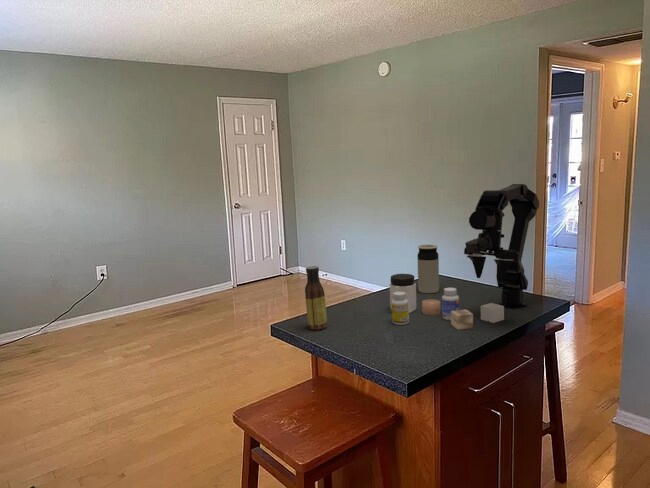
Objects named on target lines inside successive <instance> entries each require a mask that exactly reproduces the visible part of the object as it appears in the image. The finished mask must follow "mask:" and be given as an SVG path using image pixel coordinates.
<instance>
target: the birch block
mask: <svg viewBox="0 0 650 488" xmlns="http://www.w3.org/2000/svg"><path fill="white" fill-rule="evenodd" d="M450 325H451V326H452V327H454V328H455V329H456V330H466V329H473V328H474V314H473V313H472V312H470V310H467V309H459V310H455V311H451V320H450Z"/></svg>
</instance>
